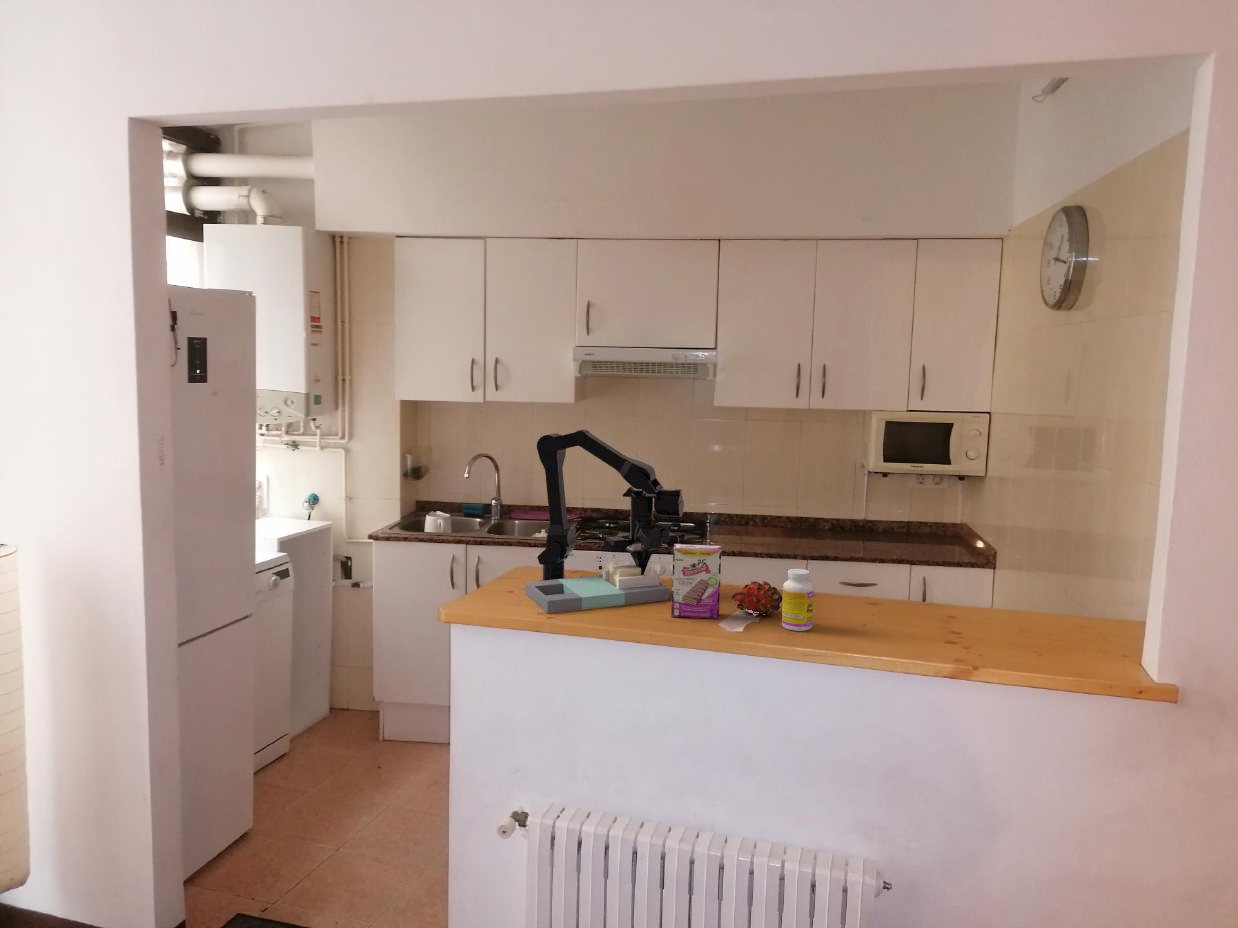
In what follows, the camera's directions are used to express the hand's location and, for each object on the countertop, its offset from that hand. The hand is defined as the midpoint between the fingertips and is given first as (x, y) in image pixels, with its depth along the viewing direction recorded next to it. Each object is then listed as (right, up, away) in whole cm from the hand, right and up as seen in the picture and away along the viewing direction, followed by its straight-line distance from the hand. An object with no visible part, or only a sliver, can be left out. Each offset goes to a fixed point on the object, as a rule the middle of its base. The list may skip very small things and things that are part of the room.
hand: (641, 574), depth 221 cm
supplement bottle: (+34, -8, -27) cm, 44 cm away
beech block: (-4, -2, -2) cm, 5 cm away
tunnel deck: (-12, -5, -4) cm, 13 cm away
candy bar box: (+12, -7, -19) cm, 24 cm away
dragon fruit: (+27, -7, -17) cm, 33 cm away
